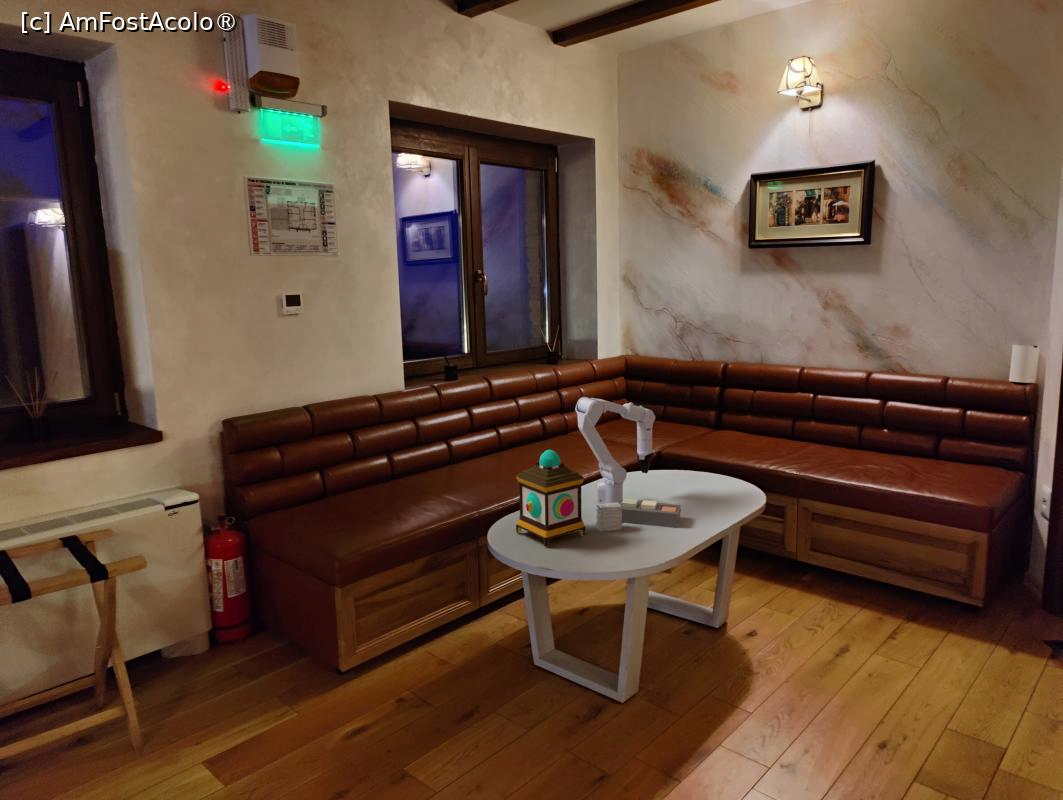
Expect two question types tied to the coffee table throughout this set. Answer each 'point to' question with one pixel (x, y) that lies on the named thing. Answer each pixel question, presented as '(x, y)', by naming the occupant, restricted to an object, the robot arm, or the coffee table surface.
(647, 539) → the coffee table surface
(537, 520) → the decorative lantern
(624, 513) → the key panel
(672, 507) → the terracotta key
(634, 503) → the sage key
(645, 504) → the cream key
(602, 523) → the medicine box
